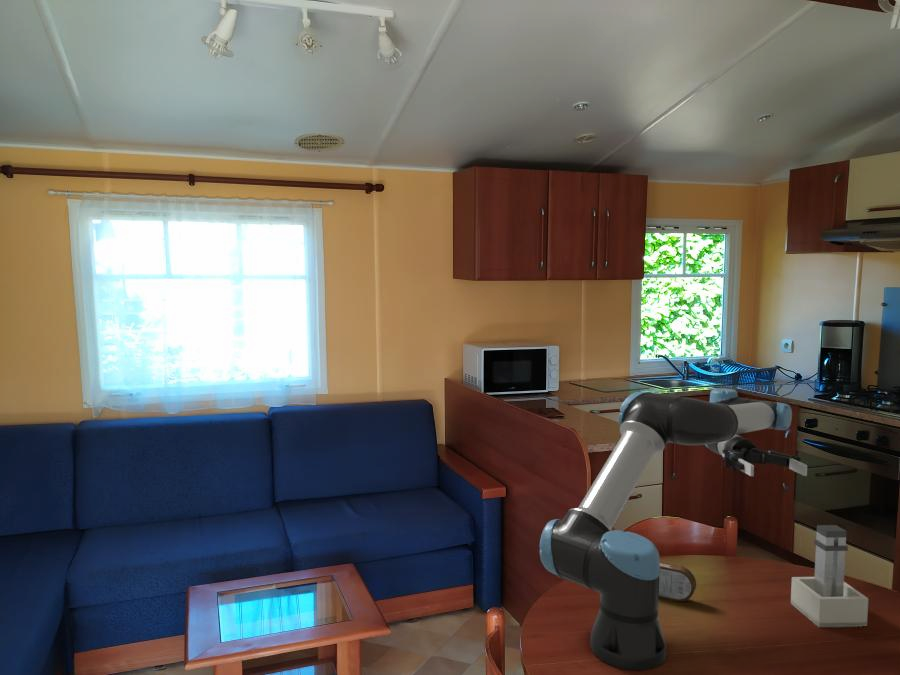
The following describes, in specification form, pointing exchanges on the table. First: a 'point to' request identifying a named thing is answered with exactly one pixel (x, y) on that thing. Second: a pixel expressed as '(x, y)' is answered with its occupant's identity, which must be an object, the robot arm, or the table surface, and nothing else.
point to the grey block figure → (830, 560)
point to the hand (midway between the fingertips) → (779, 470)
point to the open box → (829, 605)
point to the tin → (676, 582)
